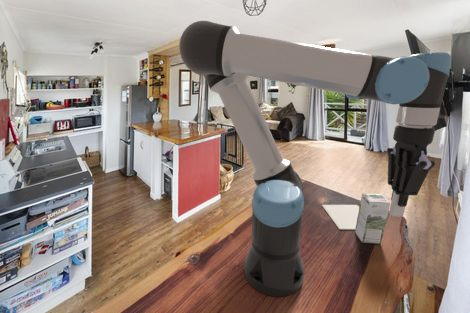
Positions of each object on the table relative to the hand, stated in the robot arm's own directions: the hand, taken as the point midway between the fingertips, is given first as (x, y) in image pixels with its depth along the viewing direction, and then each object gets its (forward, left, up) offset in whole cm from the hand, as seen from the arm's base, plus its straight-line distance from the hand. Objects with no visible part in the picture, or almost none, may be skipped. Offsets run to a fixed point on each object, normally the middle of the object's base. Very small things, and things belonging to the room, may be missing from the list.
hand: (395, 214), depth 61 cm
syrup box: (0, +9, -14) cm, 17 cm away
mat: (0, +22, -14) cm, 26 cm away
